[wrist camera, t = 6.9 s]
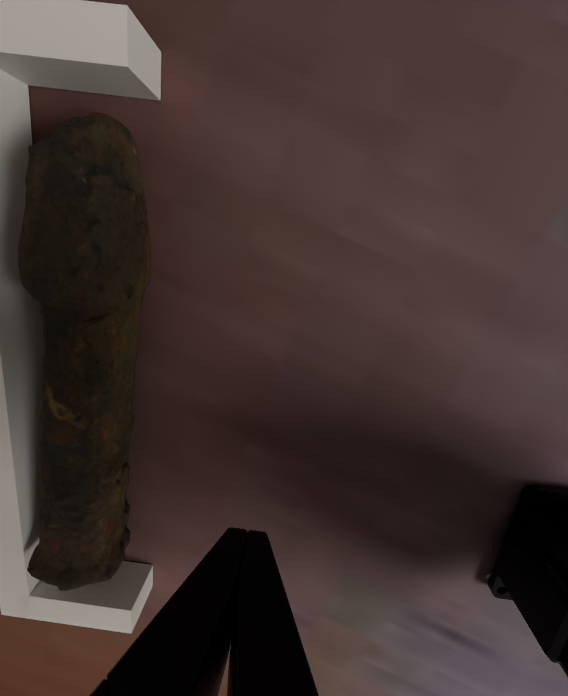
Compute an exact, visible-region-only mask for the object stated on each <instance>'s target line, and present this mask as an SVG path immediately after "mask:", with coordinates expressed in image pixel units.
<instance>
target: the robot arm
mask: <svg viewBox="0 0 568 696" xmlns="http://www.w3.org/2000/svg"><path fill="white" fill-rule="evenodd" d="M535 495H537V496H536V497H534V498H533V496H535ZM488 586H489V588H490V590H491V592H492V594H493V595H494V596H495V597H497V598H501V599H508V600H513V601H514V602H515V604H516V606H517V607H518V609H519V611H520V612H521V614H522V616H523V618H524V619H525V621H526V623H527V624H528V626H529V628H530V629H531V631H532V633H533V634H534V636H535V638H536V639H537V641H538V643H539V644H540V646H541V648H542V649H543V651H544V653H545V654H546V655H547V657H548V658H549V659H550V660H551V661H552V662H554V663H559V664H560V665H561V667H562V668H563V670H564V672H565V673H566V675H567V677H568V489H565V488H557V487H550V486H542V485H529V486H526V487H525V488H524V489H523V490H522V492H521V494H520V497H519V499H518V502H517V505H516V508H515V510H514V513H513V516H512V518H511V521H510V524H509V527H508V529H507V532H506V535H505V537H504V540H503V543H502V546H501V548H500V551H499V554H498V557H497V559H496V562H495V565H494V567H493V570H492V573H491V576H490V578H489V581H488ZM230 644H231V648H230ZM229 650H230V658H229V670H228V685H227V696H319V695H318V692H317V689H316V686H315V683H314V680H313V676H312V673H311V670H310V667H309V664H308V661H307V658H306V654H305V651H304V648H303V645H302V642H301V639H300V636H299V632H298V629H297V626H296V623H295V620H294V617H293V614H292V611H291V607H290V604H289V601H288V598H287V595H286V592H285V589H284V585H283V582H282V579H281V576H280V573H279V570H278V567H277V563H276V560H275V557H274V554H273V551H272V548H271V545H270V541H269V538H268V535H267V534H266V533H265V532H262V531H255V530H249V531H248V533H247V531H246V530H245V529H240V528H233V527H230V528H228V529H227V530H226V531H225V533H224V534H223V535H222V536H221V538H220V539H219V540H218V541H217V542H216V544H215V545H214V546H213V547H212V548H211V550H210V551H209V552H208V553H207V554H206V556H205V557H204V558H203V559H202V560H201V562H200V563H199V564H198V565H197V567H196V568H195V569H194V570H193V571H192V573H191V574H190V575H189V576H188V577H187V579H186V580H185V581H184V582H183V583H182V585H181V586H180V587H179V588H178V589H177V591H176V592H175V593H174V594H173V596H172V597H171V598H170V599H169V600H168V602H167V603H166V604H165V605H164V606H163V608H162V609H161V610H160V611H159V612H158V614H157V615H156V616H155V617H154V618H153V620H152V621H151V622H150V623H149V624H148V626H147V627H146V628H145V629H144V631H143V632H142V633H141V634H140V635H139V637H138V638H137V639H136V640H135V641H134V643H133V644H132V645H131V646H130V647H129V649H128V650H127V651H126V652H125V653H124V655H123V656H122V657H121V658H120V660H119V661H118V662H117V663H116V664H115V666H114V667H113V668H112V669H111V670H110V672H109V673H108V674H107V680H106V679H103V680H102V681H101V682H100V683H99V685H98V686H97V687H96V688H95V689H94V691H93V692H92V693H91V694H90V695H89V696H218V693H219V689H220V685H221V681H222V678H223V674H224V670H225V667H226V662H227V658H228V654H229Z"/></svg>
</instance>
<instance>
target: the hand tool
mask: <svg viewBox="0 0 568 696" xmlns="http://www.w3.org/2000/svg"><path fill="white" fill-rule="evenodd" d="M28 152H29V161H28V167H27V172H26V178H25V186H26V194H25V201H26V204H25V211H24V217H23V223H22V228H21V234H20V240H19V246H18V267H19V274H20V280H21V284H22V285H23V287H24V288H25V289H26V290H27V291H28V293H29V294H30V295H31V296H32V297H33V298H34V299H36V300H38V301H39V303H40V308H41V309H40V314H41V315H42V339H43V356H42V361H41V388H40V397H41V410H40V440H39V441H40V449H41V450H40V479H39V481H40V483H39V484H40V491H39V493H40V509H41V514H40V523H41V529H40V534H39V535H38V536H39V544H38V545H37V546H36V548H35V549H34V552H33V554H32V556H31V558H30V561H29V563H28V564H29V566H28V567H29V568H28V567H27V571H28V572H29V573H30V574H31V576H32V577H34V578H36V579H38V580H41V581H43V582H44V583H46V584H49V585H54V586H57V587H58V588H59V590H60V591H68V590H72V589H76V588H79V587H82V586H86V585H89V584H95V583H99V582H104V581H108V580H110V579H111V578H112V577H113V576H114V574H115V573H116V572H117V570H118V569H119V567H120V565H121V563H122V561H123V559H124V557H125V555H124V550H125V549H126V547H127V545H128V543H129V541H130V531H129V529H128V528H127V527H126V526H125V525H126V522H127V520H128V515H129V510H130V505H128V504H127V503H125V498H126V489H127V486H128V481H129V465H128V462H127V461H128V451H129V437H130V432H131V429H132V426H133V422H134V417H133V415H132V408H133V393H134V376H135V364H136V353H137V338H138V329H139V317H140V305H141V302H142V298H143V294H144V290H145V287H146V286H147V285H148V284H149V279H150V238H149V230H148V221H147V212H146V204H145V197H144V190H143V184H142V177H141V173H140V168H139V164H138V159H137V153H136V146H135V143H134V140H133V137H132V135H131V133H130V131H129V130H128V129H127V128H126V127H125V126H124V125H123V124H121V123H120V122H119V121H117V120H116V119H114V118H112V117H111V116H109V115H106V114H102V113H93V114H91V115H90V116H89V117H83V118H80V117H76V118H72V119H70V120H69V121H67V122H66V123H65V124H63V125H62V126H60V127H59V128H58V129H57V130H56V131H54V132H52V133H50V134H48V135H46V136H45V137H44V138H43V139H42V140H41V141H40V142H39V143H36V144H33V145H31V146H28Z"/></svg>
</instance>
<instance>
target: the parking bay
mask: <svg viewBox="0 0 568 696" xmlns="http://www.w3.org/2000/svg"><path fill="white" fill-rule="evenodd" d="M28 85H29V86H38V87H47V88H55V89H64V90H72V91H81V92H90V93H98V94H107V95H115V96H124V97H133V98H141V99H150V100H158V101H160V99H161V51H160V50H159V49H158V47H157V46H156V44H155V43H154V42H153V40H152V39H151V38H150V36H149V35H148V33H147V32H146V31H145V29H144V28H143V27H142V25H141V24H140V22H139V21H138V20H137V18H136V17H135V16H134V14H133V13H132V11H131V10H130V9H129V7H128V6H127V5H119V4H110V3H101V2H92V1H83V0H0V608H1V615H7V616H14V617H21V618H28V619H35V620H41V621H48V622H55V623H62V624H69V625H76V626H83V627H89V628H96V629H103V630H110V631H117V632H124V633H130V634H131V633H132V631H133V629H134V627H135V624H136V622H137V620H138V618H139V615H140V613H141V611H142V609H143V606H144V604H145V602H146V600H147V598H148V595H149V593H150V591H151V589H152V586H153V565H149V564H142V563H135V562H128V561H122V563H121V565H120V567H119V569H118V570H117V572H116V573H115V574H114V576H113V577H112V578H111V579H110V580H108V581H104V582H99V583H95V584H89V585H86V586H82V587H79V588H76V589H72V590H68V591H60V590H59V588H58V587H57V586H54V585H49V584H46V583H44V582H43V581H41V580H38V579H36V578H34V577H32V576H31V574H30V573H29V572H28V571H27V567H28V566H29V564H28V563H29V561H30V558H31V556H32V554H33V552H34V549H35V548H36V546H37V545H38V544H39V536H38V535H39V534H40V529H41V523H40V514H41V509H40V493H39V491H40V484H39V483H40V481H39V479H40V450H41V449H40V441H39V440H40V410H41V397H40V388H41V361H42V356H43V339H42V315H41V314H40V309H41V308H40V303H39V301H38V300H36V299H34V298H33V297H32V296H31V295H30V294H29V293H28V291H27V290H26V289H25V288H24V287H23V285H22V284H21V280H20V274H19V267H18V246H19V240H20V234H21V228H22V223H23V217H24V211H25V204H26V201H25V194H26V186H25V178H26V172H27V167H28V161H29V152H28V146H31V145H32V131H31V118H30V105H29V92H28ZM28 568H29V567H28Z"/></svg>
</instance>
